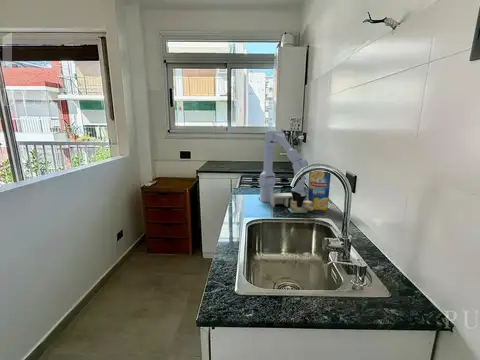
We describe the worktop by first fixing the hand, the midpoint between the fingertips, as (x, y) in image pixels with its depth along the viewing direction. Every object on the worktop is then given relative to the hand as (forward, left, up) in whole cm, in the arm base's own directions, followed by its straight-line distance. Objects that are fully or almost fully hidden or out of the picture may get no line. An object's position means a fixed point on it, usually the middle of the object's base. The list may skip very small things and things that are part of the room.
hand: (297, 205), depth 149 cm
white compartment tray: (-11, -3, -3) cm, 12 cm away
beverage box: (-4, +14, -3) cm, 15 cm away
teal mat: (0, 0, -3) cm, 3 cm away
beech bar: (0, +2, -2) cm, 3 cm away
